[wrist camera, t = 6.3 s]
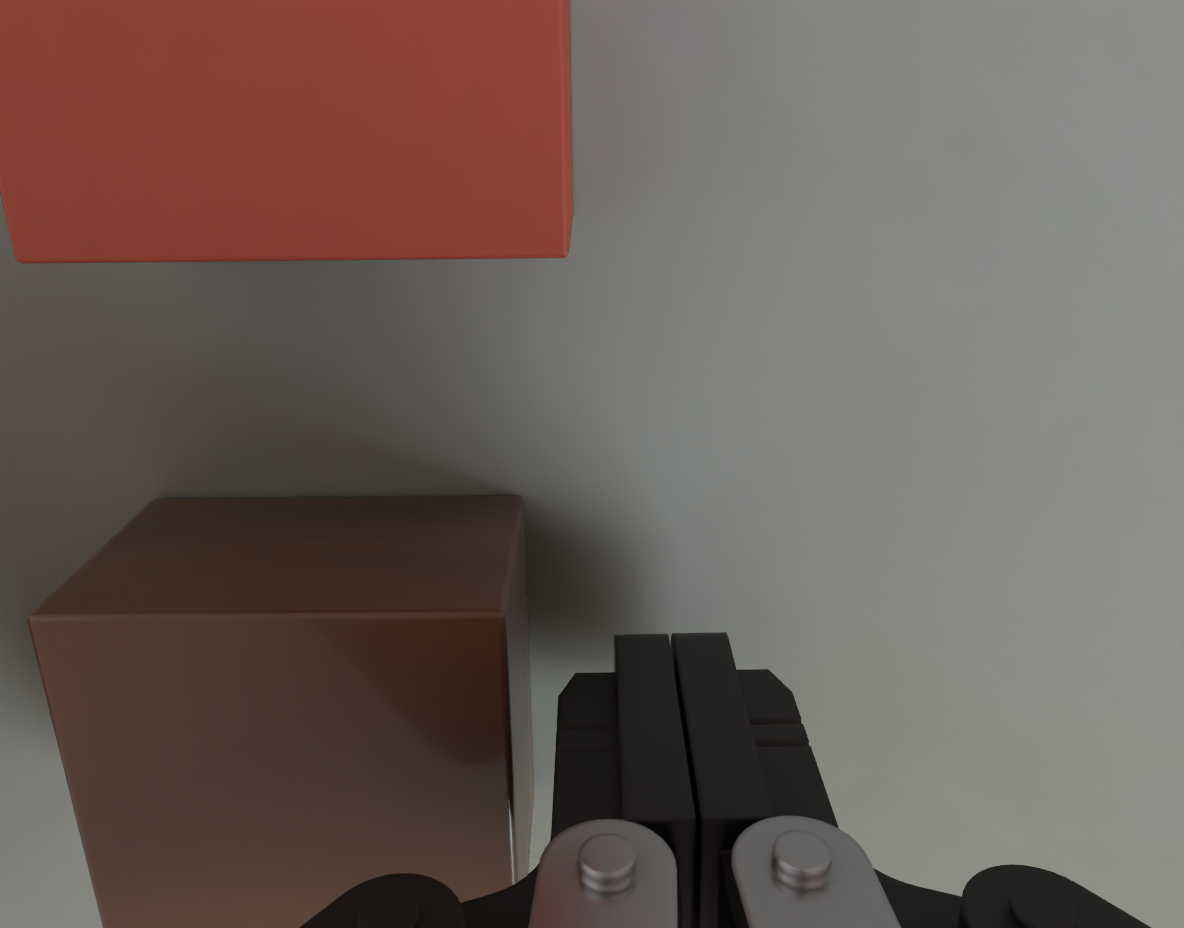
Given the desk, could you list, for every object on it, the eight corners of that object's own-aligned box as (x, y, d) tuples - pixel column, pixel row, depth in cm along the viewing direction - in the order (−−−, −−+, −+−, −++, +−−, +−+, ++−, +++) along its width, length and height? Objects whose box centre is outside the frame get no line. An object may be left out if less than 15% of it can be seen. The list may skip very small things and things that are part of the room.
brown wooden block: (152, 496, 13) (21, 616, 10) (523, 492, 13) (505, 612, 10) (208, 797, 15) (111, 976, 12) (534, 793, 15) (521, 972, 12)
